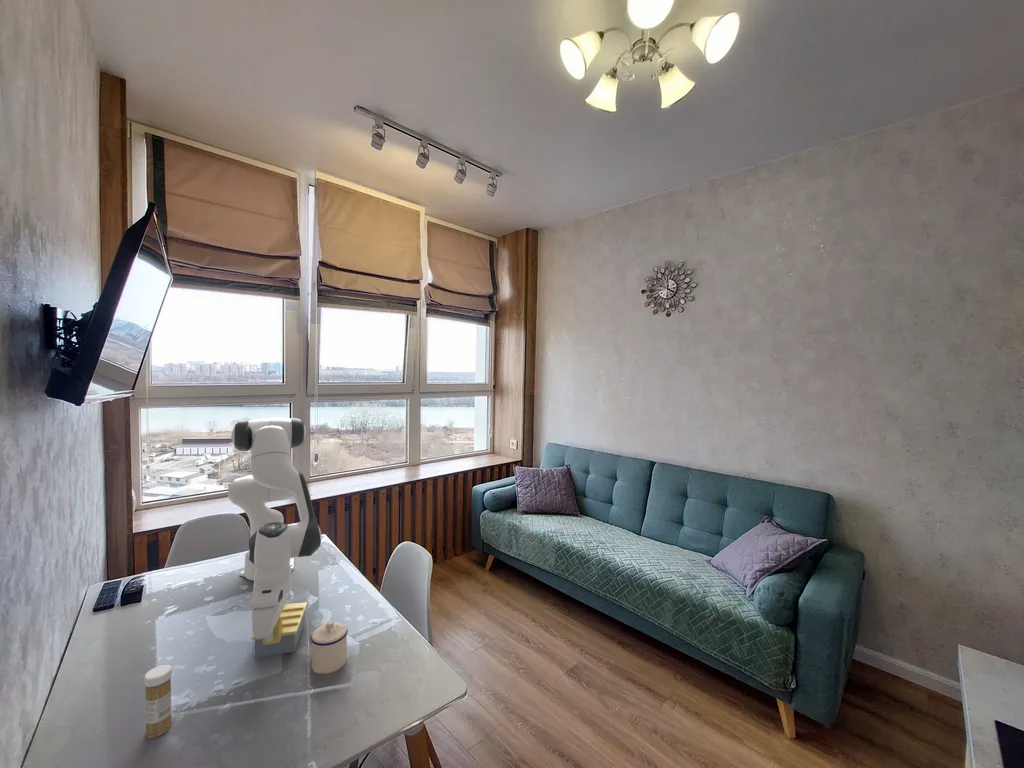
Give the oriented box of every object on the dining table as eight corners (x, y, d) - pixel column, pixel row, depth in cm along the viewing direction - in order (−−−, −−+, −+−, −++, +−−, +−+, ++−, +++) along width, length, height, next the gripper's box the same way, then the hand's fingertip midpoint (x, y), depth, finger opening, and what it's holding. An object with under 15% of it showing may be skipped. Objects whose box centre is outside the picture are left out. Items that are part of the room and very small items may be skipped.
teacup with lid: (354, 659, 115) (355, 618, 115) (327, 681, 107) (327, 636, 107) (324, 646, 121) (324, 606, 120) (295, 666, 112) (296, 623, 112)
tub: (269, 629, 128) (269, 610, 128) (304, 624, 131) (304, 605, 130) (254, 659, 114) (254, 638, 114) (294, 653, 117) (294, 632, 117)
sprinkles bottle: (168, 718, 95) (168, 660, 94) (174, 728, 92) (174, 669, 92) (142, 732, 91) (141, 672, 91) (148, 743, 88) (147, 681, 88)
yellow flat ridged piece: (267, 609, 128) (267, 594, 128) (307, 604, 131) (307, 590, 131) (247, 647, 111) (247, 630, 111) (294, 640, 114) (294, 624, 114)
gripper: (270, 568, 122) (270, 614, 123) (247, 606, 103) (247, 661, 103) (294, 566, 124) (294, 611, 124) (275, 603, 104) (275, 657, 105)
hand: (272, 634), depth 114 cm, fingers open, 3 cm apart
